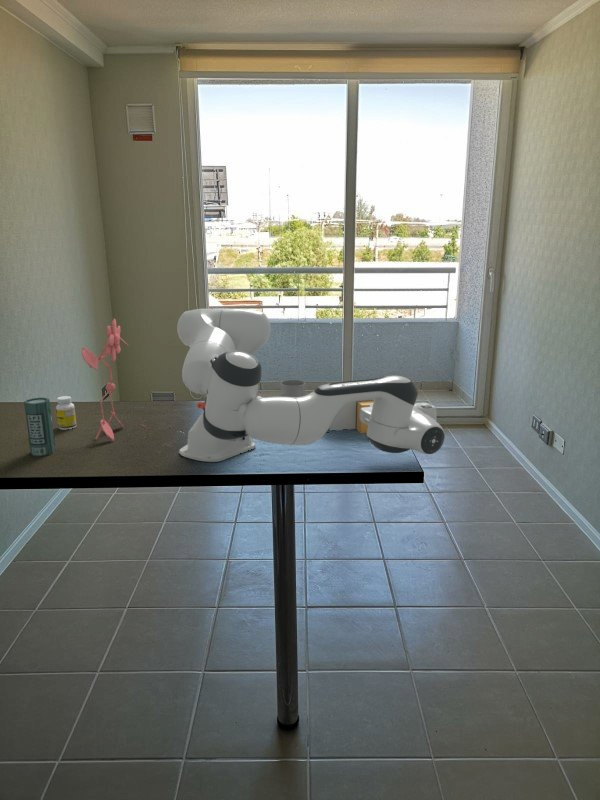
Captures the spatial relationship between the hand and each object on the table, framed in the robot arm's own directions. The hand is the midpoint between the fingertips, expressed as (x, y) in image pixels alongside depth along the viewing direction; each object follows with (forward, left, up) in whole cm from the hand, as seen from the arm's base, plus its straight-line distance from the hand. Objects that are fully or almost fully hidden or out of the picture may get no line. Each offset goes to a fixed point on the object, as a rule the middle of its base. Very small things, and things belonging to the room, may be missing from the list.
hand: (386, 405), depth 170 cm
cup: (+15, +40, -12) cm, 44 cm away
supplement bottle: (-36, +92, -12) cm, 99 cm away
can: (-54, +80, -12) cm, 97 cm away
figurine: (-32, +72, -12) cm, 80 cm away
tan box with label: (+8, +9, -12) cm, 17 cm away
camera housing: (+11, +18, -12) cm, 24 cm away
